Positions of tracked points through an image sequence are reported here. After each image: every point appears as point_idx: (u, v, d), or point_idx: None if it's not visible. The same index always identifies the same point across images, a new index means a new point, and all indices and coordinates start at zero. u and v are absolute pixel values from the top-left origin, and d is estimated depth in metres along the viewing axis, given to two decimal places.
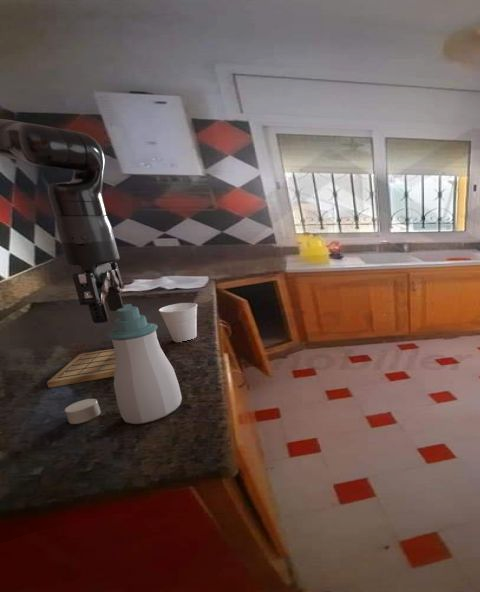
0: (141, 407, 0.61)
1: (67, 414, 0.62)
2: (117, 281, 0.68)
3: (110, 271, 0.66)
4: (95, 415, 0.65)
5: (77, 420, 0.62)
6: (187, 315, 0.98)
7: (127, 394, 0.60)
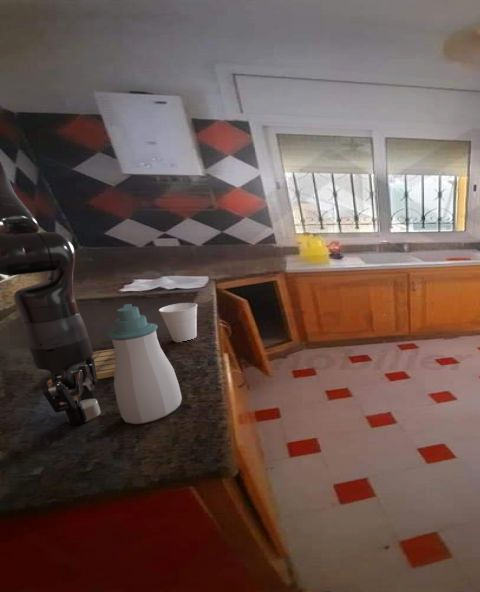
0: (141, 407, 0.61)
1: None
2: (90, 378, 0.65)
3: (83, 367, 0.63)
4: (95, 415, 0.65)
5: None
6: (187, 315, 0.98)
7: (127, 394, 0.60)
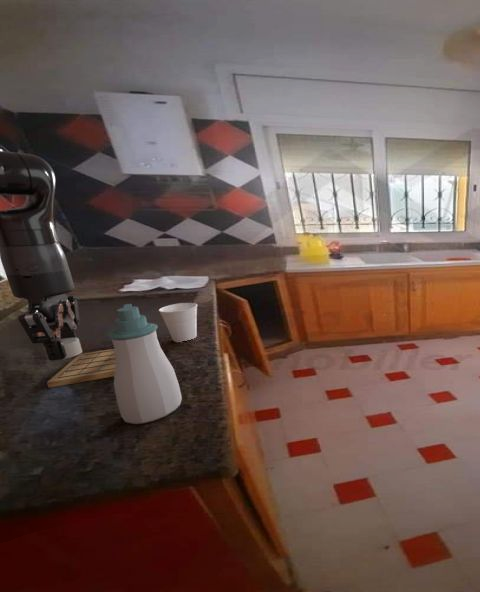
0: (141, 407, 0.61)
1: None
2: (71, 315, 0.63)
3: (64, 302, 0.61)
4: (76, 353, 0.62)
5: None
6: (187, 315, 0.98)
7: (127, 394, 0.60)
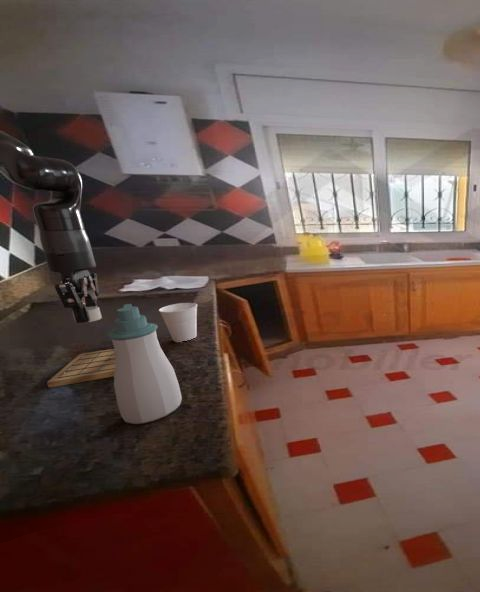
0: (141, 407, 0.61)
1: None
2: (93, 288, 0.78)
3: (87, 277, 0.76)
4: (97, 318, 0.77)
5: None
6: (187, 315, 0.98)
7: (127, 394, 0.60)
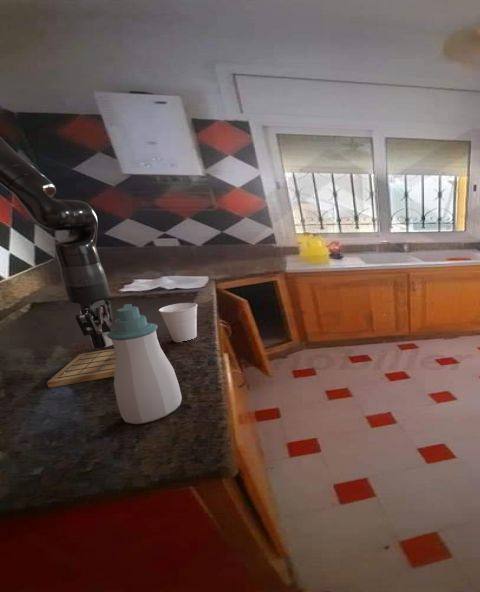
0: (141, 407, 0.61)
1: None
2: (108, 315, 0.85)
3: (103, 305, 0.83)
4: (112, 343, 0.84)
5: None
6: (187, 315, 0.98)
7: (127, 394, 0.60)
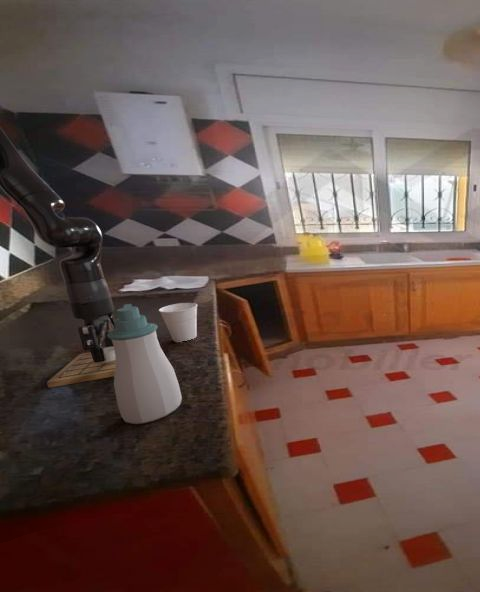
0: (141, 407, 0.61)
1: None
2: (112, 327, 0.86)
3: (107, 320, 0.84)
4: None
5: None
6: (187, 315, 0.98)
7: (127, 394, 0.60)
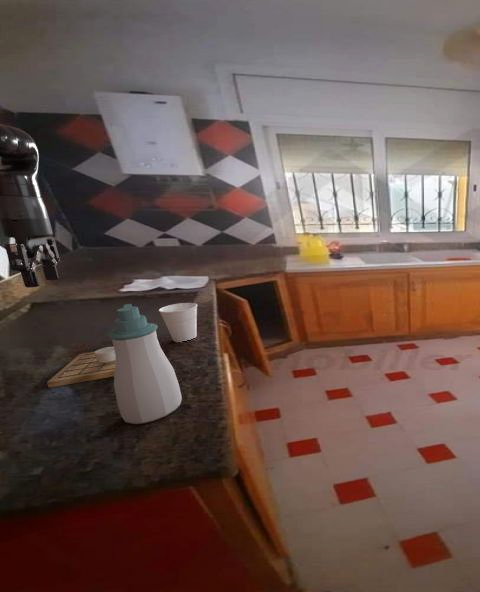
0: (141, 407, 0.61)
1: (96, 355, 0.83)
2: (51, 254, 0.80)
3: (44, 245, 0.78)
4: None
5: (103, 360, 0.83)
6: (187, 315, 0.98)
7: (127, 394, 0.60)
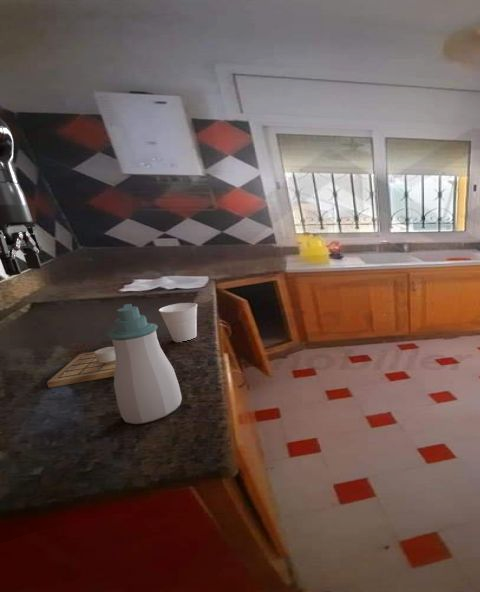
0: (141, 407, 0.61)
1: (96, 355, 0.83)
2: (32, 242, 0.79)
3: (24, 232, 0.77)
4: None
5: (103, 360, 0.83)
6: (187, 315, 0.98)
7: (127, 394, 0.60)
